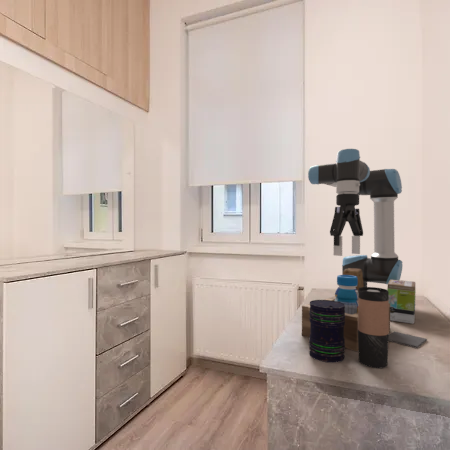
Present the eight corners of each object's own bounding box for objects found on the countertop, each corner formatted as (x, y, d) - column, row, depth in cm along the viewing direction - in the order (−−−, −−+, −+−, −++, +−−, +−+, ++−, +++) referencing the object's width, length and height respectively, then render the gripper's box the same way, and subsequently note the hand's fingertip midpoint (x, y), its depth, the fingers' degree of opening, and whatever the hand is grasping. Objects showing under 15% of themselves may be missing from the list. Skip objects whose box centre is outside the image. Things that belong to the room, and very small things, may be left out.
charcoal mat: (394, 332, 111) (394, 331, 111) (426, 340, 104) (426, 338, 104) (383, 339, 104) (383, 337, 104) (417, 348, 97) (417, 346, 97)
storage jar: (304, 349, 96) (304, 299, 96) (335, 348, 96) (336, 299, 96) (316, 363, 86) (316, 308, 86) (351, 362, 86) (351, 307, 87)
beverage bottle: (344, 338, 105) (344, 278, 105) (329, 330, 113) (329, 274, 114) (365, 336, 107) (365, 277, 108) (349, 328, 116) (349, 274, 116)
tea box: (415, 324, 122) (415, 286, 122) (386, 320, 127) (386, 283, 127) (415, 315, 135) (415, 280, 135) (388, 312, 140) (389, 278, 140)
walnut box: (339, 319, 127) (339, 294, 127) (390, 331, 113) (390, 303, 113) (301, 335, 108) (301, 305, 108) (356, 351, 94) (356, 317, 94)
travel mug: (392, 362, 87) (392, 289, 87) (383, 371, 81) (384, 293, 81) (363, 354, 92) (363, 285, 92) (353, 362, 86) (354, 289, 86)
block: (359, 321, 125) (359, 270, 125) (339, 318, 129) (339, 269, 129) (365, 315, 133) (365, 268, 134) (347, 312, 138) (347, 266, 138)
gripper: (340, 189, 100) (340, 257, 99) (373, 196, 117) (372, 253, 116) (319, 191, 105) (318, 255, 105) (353, 197, 122) (352, 252, 122)
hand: (347, 254), depth 111 cm, fingers open, 13 cm apart
